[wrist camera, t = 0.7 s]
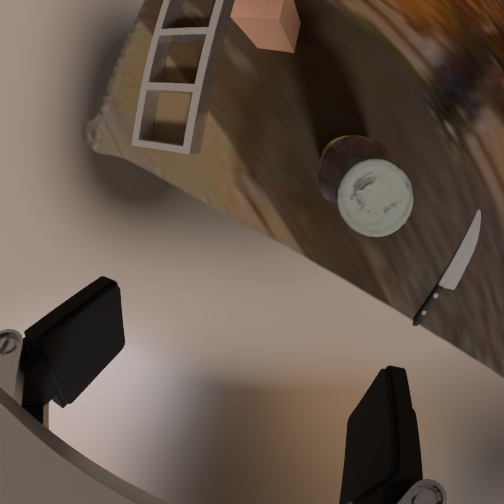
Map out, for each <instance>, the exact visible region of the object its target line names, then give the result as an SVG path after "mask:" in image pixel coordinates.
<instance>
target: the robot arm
mask: <svg viewBox="0 0 504 504" xmlns="http://www.w3.org/2000/svg"><path fill="white" fill-rule="evenodd" d="M24 333H25V336H26V337H25V338H22V335H21V334H20V333H19V332H18V331H15V330H12V329H6V330H2V331H0V504H172V503H170V502H167V501H165V500H163V499H160V498H158V497H156V496H154V495H152V494H150V493H148V492H146V491H144V490H141V489H140V488H138V487H136V486H134V485H132V484H130V483H128V482H126V481H124V480H123V479H121V478H119V477H117V476H115V475H114V474H112V473H111V472H109V471H107V470H106V469H103V468H102V467H101V466H99V465H98V464H96V463H94V462H93V461H91V460H90V459H88V458H87V457H85V456H84V455H82V454H81V453H79V452H78V451H76V450H75V449H74V448H72V447H71V446H69V445H68V444H66V443H65V442H64V441H63V440H61V439H60V438H59V437H57V436H56V435H55V434H53V433H52V432H51V431H50V430H49V422H48V421H49V402H50V400H52V399H53V401H54V402H55V403H57V404H58V405H59V406H61V407H62V408H64V407H65V406H66V405H67V404H70V403H72V402H73V401H74V400H75V399H76V398H77V397H78V396H79V395H80V394H81V392H83V391H84V390H85V388H86V387H87V386H88V385H89V384H90V383H91V382H92V381H93V380H94V379H95V378H96V377H97V376H98V374H99V373H100V372H101V371H102V370H103V369H104V368H105V367H106V366H107V365H108V364H109V363H110V362H111V361H112V360H113V359H114V357H115V356H116V355H117V354H118V353H119V352H120V351H121V350H122V349H123V347H124V344H125V337H124V328H123V318H122V308H121V295H120V288H119V287H118V284H117V282H116V281H114V280H111V279H109V278H107V277H104V276H102V277H100V278H98V279H97V280H95V281H94V282H92V283H91V284H89V285H88V286H87V287H85V288H84V289H82V290H81V291H79V292H78V293H76V294H75V295H74V296H72V297H71V298H69V299H68V300H66V301H65V302H64V303H62V304H61V305H59V306H58V307H57V308H55V309H54V310H53V311H51V312H50V313H48V314H47V315H46V316H44V317H43V318H42V319H40V320H39V321H38V322H36V323H35V324H34V325H32V326H31V327H30V328H28V329H27V330H26V331H25V332H24ZM446 502H447V496H446V492H445V490H444V488H443V487H442V486H441V484H440V483H438V482H437V481H435V480H431V479H424V480H423V474H422V461H421V451H420V442H419V433H418V426H417V419H416V413H415V411H414V410H413V409H412V402H411V397H410V391H409V385H408V380H407V374H406V370H405V369H404V368H400V367H395V366H388V367H387V368H386V369H381V370H380V372H379V373H378V375H377V377H376V378H375V380H374V381H373V383H372V384H371V386H370V388H369V389H368V390H367V392H366V394H365V395H364V396H363V398H362V400H361V401H360V403H359V404H358V405H357V407H356V408H355V410H354V411H353V412H352V414H351V415H350V417H349V419H348V423H347V436H346V448H345V460H344V469H343V478H342V486H341V494H340V501H339V503H340V504H446Z"/></svg>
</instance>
